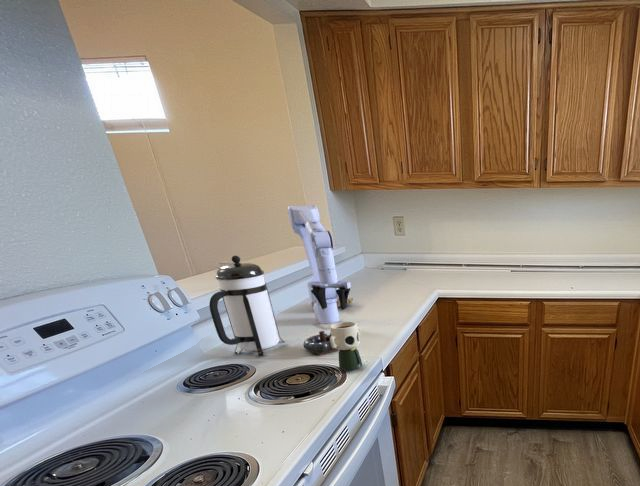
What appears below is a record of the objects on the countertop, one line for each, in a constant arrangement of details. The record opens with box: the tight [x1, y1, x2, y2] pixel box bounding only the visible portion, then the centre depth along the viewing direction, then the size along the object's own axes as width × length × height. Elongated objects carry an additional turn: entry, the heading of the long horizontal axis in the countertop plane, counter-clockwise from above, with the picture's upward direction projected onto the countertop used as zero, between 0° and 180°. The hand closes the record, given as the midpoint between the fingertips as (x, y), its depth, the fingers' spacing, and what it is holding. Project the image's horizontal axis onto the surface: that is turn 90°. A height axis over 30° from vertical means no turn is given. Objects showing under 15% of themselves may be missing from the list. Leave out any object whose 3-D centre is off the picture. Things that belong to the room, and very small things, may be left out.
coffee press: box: [209, 255, 285, 358], centre depth 129 cm, size 17×16×30 cm
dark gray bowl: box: [302, 332, 335, 353], centre depth 134 cm, size 12×12×3 cm
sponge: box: [310, 293, 354, 308], centre depth 180 cm, size 13×8×20 cm
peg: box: [310, 330, 339, 356], centre depth 134 cm, size 8×8×6 cm
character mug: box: [329, 320, 363, 372], centre depth 117 cm, size 11×7×13 cm, turn 157°
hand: (334, 308), depth 145 cm, fingers open, 7 cm apart
